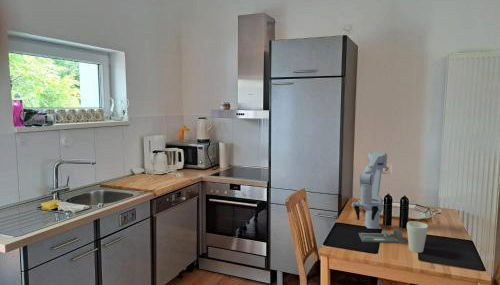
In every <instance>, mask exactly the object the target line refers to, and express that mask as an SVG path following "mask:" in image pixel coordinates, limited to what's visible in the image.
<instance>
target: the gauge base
mask: <svg viewBox="0 0 500 285" xmlns="http://www.w3.org/2000/svg"><path fill="white" fill-rule="evenodd" d="M358 234H359V235H358V237H359V238H360V240H361V242H362V243H381V244H382V243H383V244H387V243H391V244H392V243H394V244H407V240H406V239H405V238H404V237H403V234H404V233H403V231H401V229H400V228H392V233H389V234H390V237H383V236H382V232H381V233H378V232H377V233H372V232H371V233H369V232H368V233H367V232H358Z"/></svg>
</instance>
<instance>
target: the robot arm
mask: <svg viewBox="0 0 500 285" xmlns="http://www.w3.org/2000/svg"><path fill="white" fill-rule="evenodd" d="M367 159H368V165H366V166H365V168H364V171H363V173H361V174H359V187H360V201H359V202H358V201H356V202H351V207H352V208H354V211H355V214H356V219H357V221H360V212H361V211H360V210H361V209H360V208H361V207H362V208H363V209H364V211H365V215H364V217H365V218H364V219H365V220H364V221H363V225H364V226H365V227H366V229H370V230H371V229H373V230H375V229H376V230H377V229H378V230H381V229H382V227H381V225H380V213H382V212H383V208H384V200H383V198H382V197H381V196H380V194H379V193H380V187H381V182H382V181H381V180H382V172H383V170H384V169H385V168H387V167H386V166H387V162H388V154H387V152H378V151H369V152H368V155H367Z"/></svg>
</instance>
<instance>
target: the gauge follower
mask: <svg viewBox="0 0 500 285" xmlns="http://www.w3.org/2000/svg"><path fill="white" fill-rule="evenodd" d="M381 233H382V236H383V237H390V234H391V233H389V232H388V230H387V231H386V230H382V231H381Z"/></svg>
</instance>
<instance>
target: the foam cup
mask: <svg viewBox="0 0 500 285" xmlns="http://www.w3.org/2000/svg"><path fill="white" fill-rule="evenodd" d="M406 230H407V241H408V250H409V251H411V252H414V253H417V254H419V253H423V252H424V248H425V243H426V240H427V235H428V232H429V225H428V224H427V223H424V222H421V221H416V220H414V221H408V222H406Z"/></svg>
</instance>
